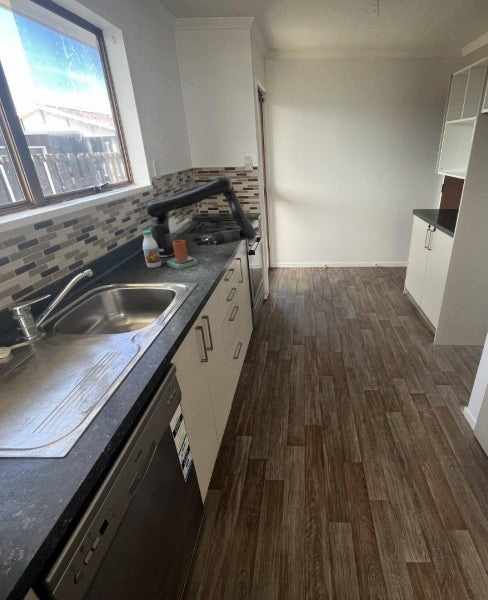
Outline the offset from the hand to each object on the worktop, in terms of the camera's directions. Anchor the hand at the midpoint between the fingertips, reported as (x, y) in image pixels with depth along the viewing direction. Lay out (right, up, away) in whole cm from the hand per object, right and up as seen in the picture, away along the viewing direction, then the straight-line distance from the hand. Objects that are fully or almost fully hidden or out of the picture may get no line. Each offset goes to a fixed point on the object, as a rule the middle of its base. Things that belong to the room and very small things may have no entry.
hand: (195, 241), depth 186 cm
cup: (-7, -10, -1) cm, 12 cm away
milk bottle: (-23, -14, 0) cm, 27 cm away
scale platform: (-7, -10, 0) cm, 13 cm away
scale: (-7, -13, +1) cm, 15 cm away
